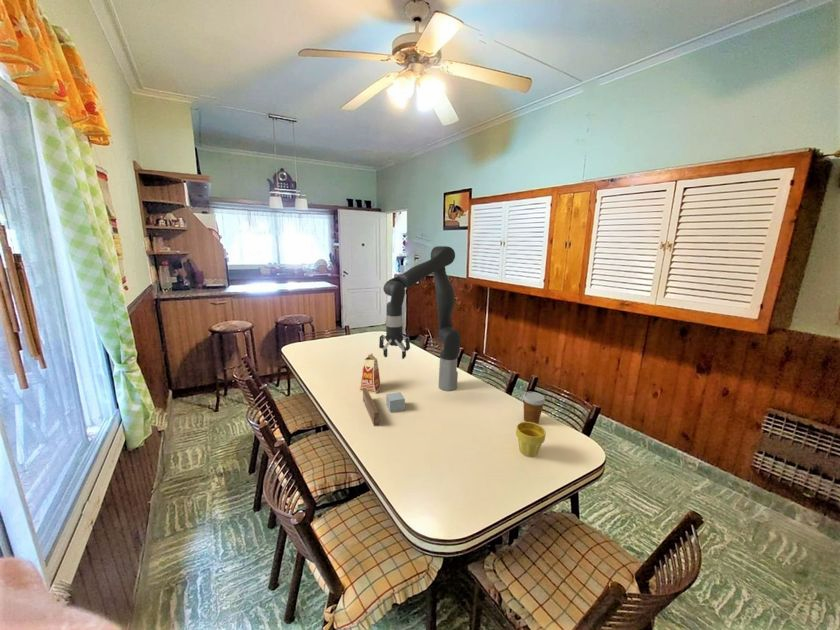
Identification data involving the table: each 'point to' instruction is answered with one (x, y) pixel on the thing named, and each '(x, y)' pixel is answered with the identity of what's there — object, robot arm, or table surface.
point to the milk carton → (370, 375)
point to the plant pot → (530, 438)
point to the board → (370, 407)
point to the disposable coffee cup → (533, 406)
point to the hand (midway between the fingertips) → (394, 357)
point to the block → (395, 402)
